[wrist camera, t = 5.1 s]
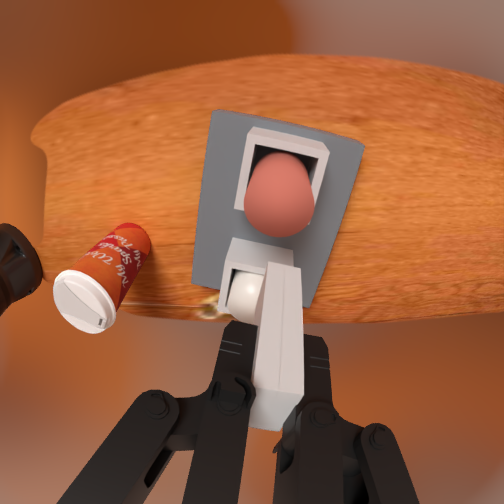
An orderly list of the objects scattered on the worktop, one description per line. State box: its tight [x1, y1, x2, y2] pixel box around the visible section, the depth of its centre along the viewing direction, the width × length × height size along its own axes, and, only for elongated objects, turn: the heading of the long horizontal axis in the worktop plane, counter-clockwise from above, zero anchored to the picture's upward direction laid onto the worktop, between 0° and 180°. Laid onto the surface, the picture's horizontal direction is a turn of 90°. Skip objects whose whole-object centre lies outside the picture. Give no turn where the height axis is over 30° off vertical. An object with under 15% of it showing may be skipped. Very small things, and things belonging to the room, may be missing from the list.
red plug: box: [244, 151, 315, 237], centre depth 24 cm, size 5×5×7 cm
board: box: [191, 109, 365, 314], centre depth 33 cm, size 16×22×8 cm
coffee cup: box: [53, 223, 151, 334], centre depth 34 cm, size 8×8×15 cm
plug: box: [227, 269, 264, 324], centre depth 34 cm, size 5×5×7 cm
